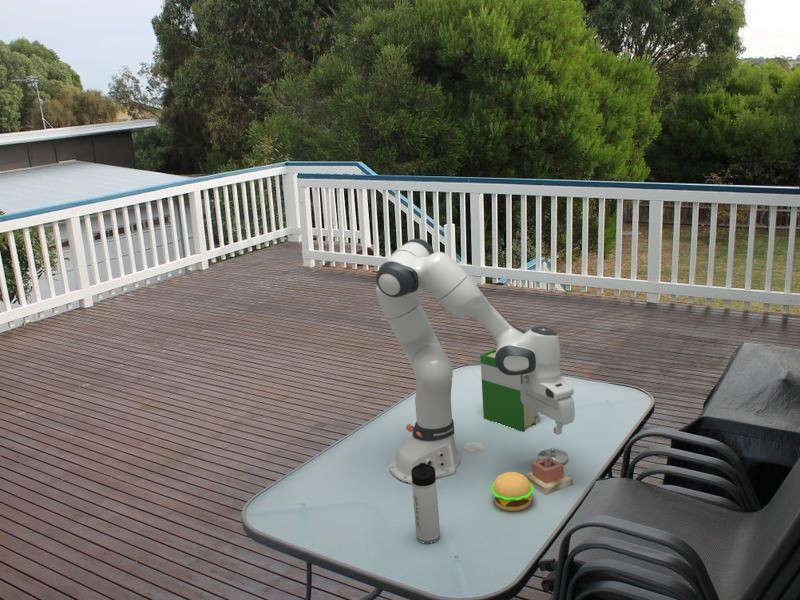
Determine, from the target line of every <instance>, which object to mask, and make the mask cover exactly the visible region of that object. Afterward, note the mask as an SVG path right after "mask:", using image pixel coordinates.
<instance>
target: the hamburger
mask: <svg viewBox="0 0 800 600" xmlns="http://www.w3.org/2000/svg"><path fill="white" fill-rule="evenodd" d="M489 490H490V493H491V494H492V495H494V498H493V500H494V501H493V502H494V503H495V505H496V506H497V507H498V508H499V509H501V510H504V511H507V512H520V511H522V510H525V509H526V508H528V507H529V506H530V504H531V501H533V500H532V499H533V494H534V492H535V488H534V487H533V486H532V484H531V482H529V480H528V479H527V478H526V477H525V476H524V474H522V473H519V472H516V471H507V472H503V473H501V474H499V475H498V476H497V477H496V478H495V480H494V482H492V485H491V486H490V489H489Z"/></svg>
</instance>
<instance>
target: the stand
mask: <svg viewBox="0 0 800 600" xmlns="http://www.w3.org/2000/svg"><path fill="white" fill-rule="evenodd" d="M544 463H545V467H546V468H549V467H551V462H550V461H545V462H544ZM523 475H524V476H525V477H526V478H527V479H528V480H529V482H531V484H532V486H533V487H534V489H536V490H538V492H541V493H542V494H544V495H546V496H547V495H549V494H552V493H554V492H556V491H559V490H562V489H565V488H567V487H570V486H573V484H574V480H573V479H574V478H573V477H572V476H569V475H568V474H567V473H564V478H561V479H559V480H556V481H553V482H551V483H548V484H545V483H544V482H542V481H541V480H539V479H538V478H536V477H534V476H533V475H532V471H530V472H527V473H525V474H523Z"/></svg>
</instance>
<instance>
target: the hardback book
mask: <svg viewBox="0 0 800 600" xmlns="http://www.w3.org/2000/svg"><path fill="white" fill-rule="evenodd" d="M496 350H497V349H492V350H490V351H487V352H484V353H482V354H480V356H479V357H480V358H479V359H480V373H481V374H480V375H481V392H482V393H481V394H482V396H481V397H482V411H483V413H482V414H483V420H486V419H487V421H489V420H490V421H489V422H492V421H493V422H492V423H495V422H497V423H496V424H498V423H500V424H502V425H501V426H503V425H505V426H504V427H506V426H508V427H507V428H509V427H511V428H510V429H512V428H514V429H513V430H515V429H516V431H519V432H521V431H522V433H524V432H525V429H526V428H528V427H530V426H534V425H535V426H537V423H535V422H533V417H532V415H531V412H530V408H529V407H527V406H525V405H523V404H522V402H521V385H522V383H523V381H522V379H523V377H524V376H525V375H529V373H527V374H522V375H514V376H510V375H506V374H504V373H502V372H501V371H500V370H499V369H498V368H497V366H496V364H495V355H496ZM500 424H499V425H500ZM531 424H532V425H531Z"/></svg>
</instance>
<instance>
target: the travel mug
mask: <svg viewBox="0 0 800 600" xmlns="http://www.w3.org/2000/svg"><path fill="white" fill-rule="evenodd" d="M411 475H412V483H411V486H412V487H411V489H412V499H413V509H414V510H413V513H414V521H415V522H414V523H415V536H416V540H417V539H418V540H419V541H421V542H424V543H431V542H434V541H436V540H438V539H439V537H440V538H441V532H440V531H441V529H440V528H441V527H440V514H439V504H438V503H439V501H438V499H439V498H438V488H437V478H436V475H435V468H434V467H433V466H431V465H428V464H426V463H419V465H417V466H415V467H414V468H413V469H412V470H411ZM418 540H417V541H418ZM439 540H440V539H439ZM439 540H438V541H439ZM419 541H418V542H419ZM421 542H420V543H421ZM436 542H437V541H436ZM424 543H423V544H424ZM434 543H435V542H434ZM431 544H432V543H431Z"/></svg>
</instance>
